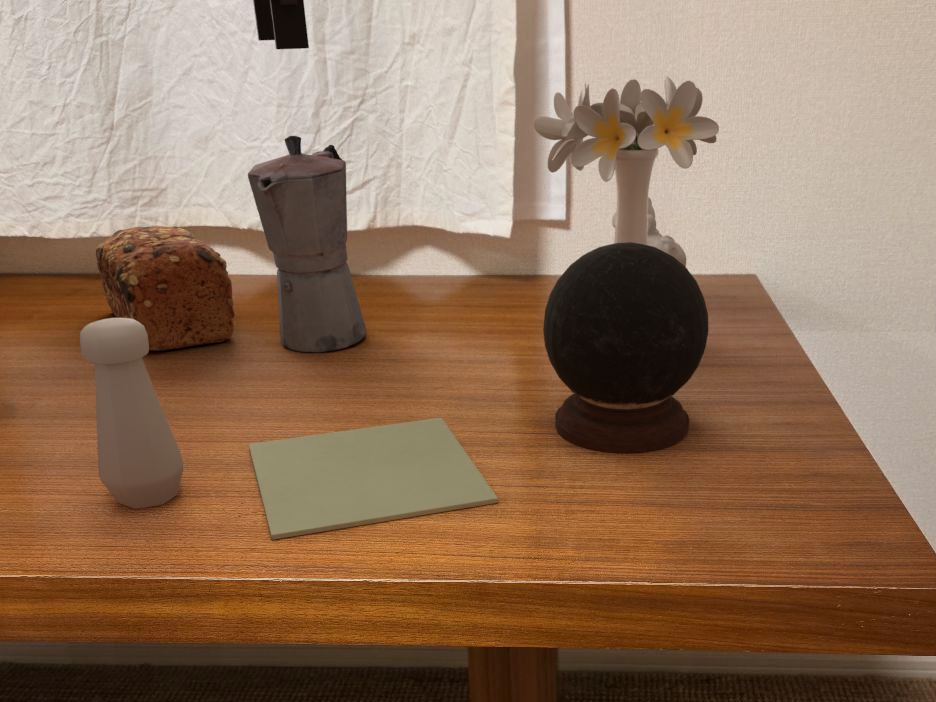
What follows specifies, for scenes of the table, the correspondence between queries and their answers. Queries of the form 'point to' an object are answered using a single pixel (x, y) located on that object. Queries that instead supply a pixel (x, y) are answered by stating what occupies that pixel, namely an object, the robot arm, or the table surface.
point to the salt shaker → (130, 417)
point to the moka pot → (309, 247)
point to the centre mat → (365, 477)
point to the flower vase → (628, 141)
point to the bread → (167, 285)
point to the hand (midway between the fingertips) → (282, 44)
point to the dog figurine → (660, 237)
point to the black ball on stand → (625, 347)
